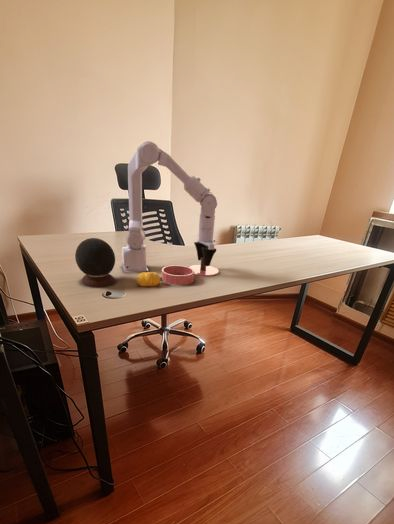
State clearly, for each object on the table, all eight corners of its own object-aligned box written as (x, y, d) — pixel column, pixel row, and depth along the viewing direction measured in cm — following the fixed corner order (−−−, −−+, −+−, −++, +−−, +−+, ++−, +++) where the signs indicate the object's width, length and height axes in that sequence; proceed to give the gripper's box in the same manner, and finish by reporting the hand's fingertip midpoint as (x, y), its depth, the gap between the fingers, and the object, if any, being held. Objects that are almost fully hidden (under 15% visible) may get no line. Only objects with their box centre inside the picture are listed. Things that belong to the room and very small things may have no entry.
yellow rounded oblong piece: (138, 289, 106) (137, 275, 103) (136, 283, 110) (135, 270, 107) (163, 288, 109) (163, 274, 106) (160, 282, 113) (160, 269, 110)
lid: (192, 278, 119) (193, 263, 116) (183, 267, 129) (184, 253, 126) (223, 276, 123) (224, 262, 120) (211, 266, 133) (213, 252, 130)
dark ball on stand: (119, 286, 107) (116, 243, 99) (79, 289, 102) (72, 243, 94) (114, 274, 117) (111, 233, 109) (78, 276, 113) (72, 234, 105)
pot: (165, 287, 109) (166, 276, 107) (158, 275, 119) (158, 265, 117) (197, 285, 113) (198, 275, 111) (188, 274, 123) (188, 264, 121)
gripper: (223, 232, 112) (219, 268, 120) (209, 224, 124) (206, 257, 131) (205, 232, 110) (202, 268, 117) (193, 224, 122) (191, 257, 129)
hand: (203, 262), depth 124 cm, fingers open, 7 cm apart
